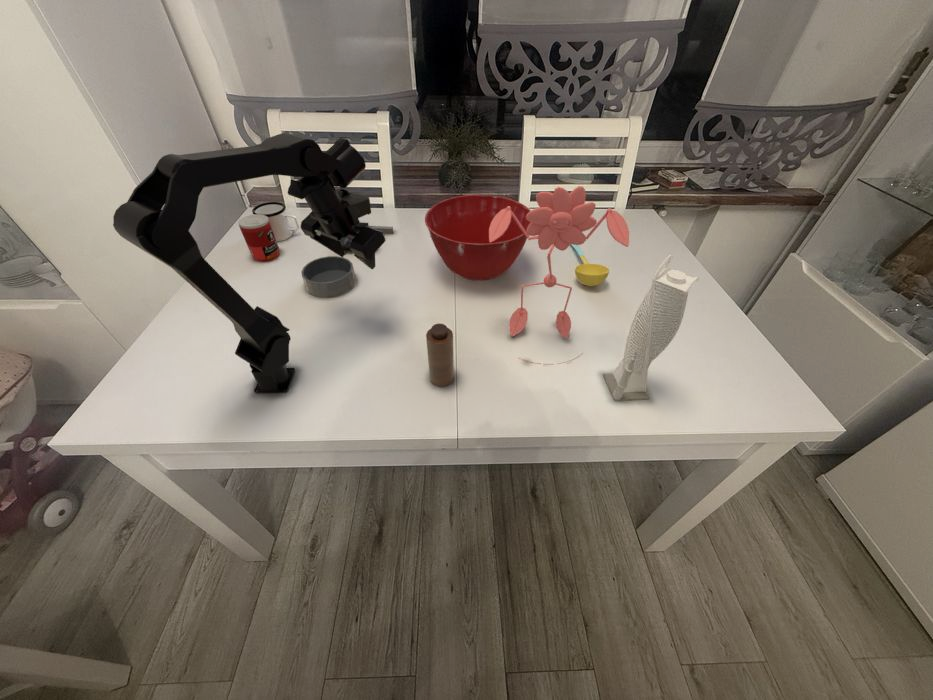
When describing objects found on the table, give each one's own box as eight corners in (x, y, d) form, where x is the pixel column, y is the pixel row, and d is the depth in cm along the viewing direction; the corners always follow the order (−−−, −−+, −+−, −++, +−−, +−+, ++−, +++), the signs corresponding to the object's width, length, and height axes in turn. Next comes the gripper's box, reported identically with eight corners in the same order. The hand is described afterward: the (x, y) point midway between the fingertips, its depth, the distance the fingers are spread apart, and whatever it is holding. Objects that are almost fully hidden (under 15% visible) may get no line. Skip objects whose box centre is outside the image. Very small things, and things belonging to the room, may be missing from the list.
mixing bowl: (414, 288, 104) (409, 234, 93) (444, 237, 124) (442, 188, 113) (519, 304, 99) (526, 250, 88) (532, 249, 119) (539, 199, 108)
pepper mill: (454, 386, 79) (453, 337, 70) (429, 387, 79) (425, 338, 70) (453, 368, 83) (452, 319, 73) (430, 369, 83) (426, 320, 73)
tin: (351, 297, 101) (348, 282, 97) (300, 298, 100) (295, 283, 97) (359, 269, 110) (356, 255, 107) (312, 270, 109) (308, 256, 106)
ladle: (577, 291, 102) (580, 270, 99) (556, 259, 124) (557, 241, 121) (611, 290, 102) (615, 269, 99) (584, 258, 124) (586, 240, 121)
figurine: (485, 316, 95) (493, 167, 71) (592, 325, 93) (638, 175, 69) (479, 361, 84) (486, 203, 60) (600, 372, 82) (658, 213, 58)
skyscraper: (600, 370, 83) (643, 252, 63) (637, 368, 83) (691, 251, 64) (614, 401, 77) (666, 282, 57) (653, 399, 77) (718, 280, 58)
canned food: (272, 263, 112) (258, 227, 104) (246, 260, 113) (231, 224, 105) (286, 250, 117) (273, 215, 110) (262, 247, 118) (248, 212, 111)
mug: (258, 243, 120) (246, 215, 114) (268, 228, 127) (258, 201, 121) (297, 243, 120) (288, 215, 114) (305, 228, 127) (297, 201, 121)
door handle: (394, 216, 129) (345, 213, 128) (387, 246, 115) (332, 244, 113) (395, 225, 131) (346, 223, 130) (388, 256, 117) (334, 254, 116)
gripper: (388, 187, 72) (411, 249, 86) (319, 167, 80) (350, 226, 93) (350, 227, 68) (381, 284, 81) (281, 201, 75) (319, 258, 89)
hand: (358, 261), depth 86 cm, fingers open, 9 cm apart
